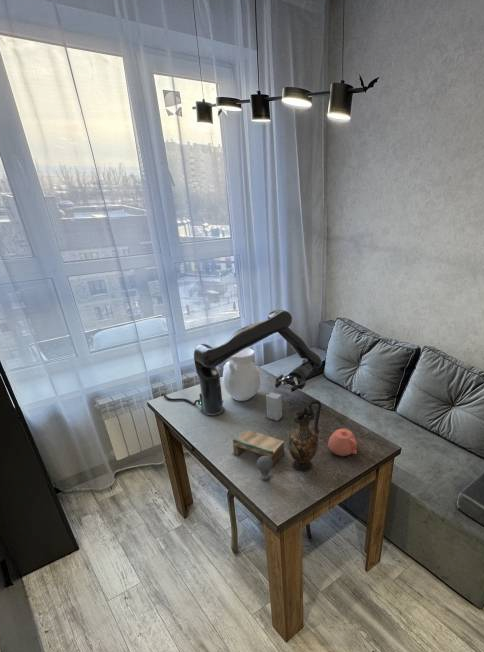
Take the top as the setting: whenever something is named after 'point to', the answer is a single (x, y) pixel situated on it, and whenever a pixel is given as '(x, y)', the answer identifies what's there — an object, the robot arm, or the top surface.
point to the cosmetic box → (274, 406)
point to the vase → (304, 437)
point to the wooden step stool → (259, 445)
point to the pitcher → (241, 376)
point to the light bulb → (265, 466)
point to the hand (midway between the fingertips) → (283, 388)
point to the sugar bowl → (342, 442)
